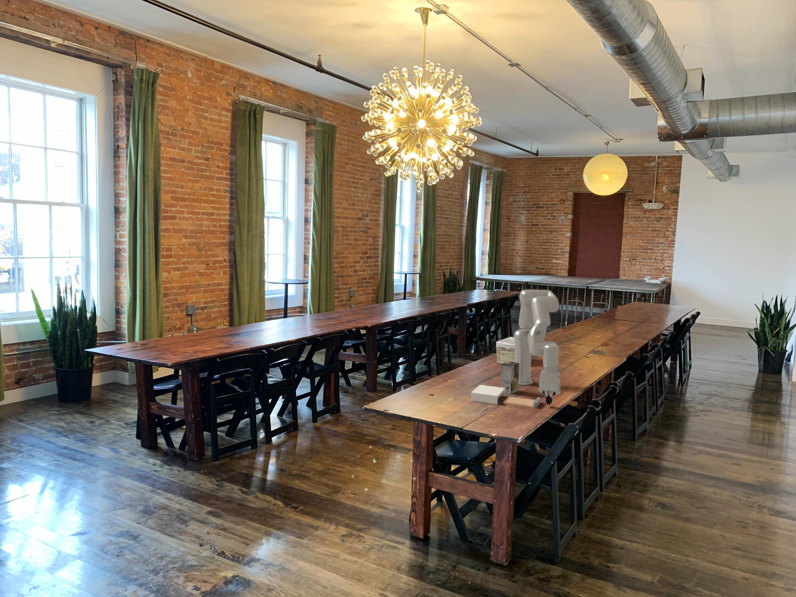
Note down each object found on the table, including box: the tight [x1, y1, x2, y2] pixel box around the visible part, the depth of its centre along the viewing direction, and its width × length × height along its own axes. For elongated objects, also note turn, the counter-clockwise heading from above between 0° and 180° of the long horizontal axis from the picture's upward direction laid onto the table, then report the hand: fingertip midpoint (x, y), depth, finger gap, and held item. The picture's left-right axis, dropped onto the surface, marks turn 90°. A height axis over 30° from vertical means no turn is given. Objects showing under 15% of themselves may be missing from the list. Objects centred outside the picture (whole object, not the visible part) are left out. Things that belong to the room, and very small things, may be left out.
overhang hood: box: [470, 384, 506, 405], centre depth 309 cm, size 17×14×4 cm
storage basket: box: [495, 336, 529, 364], centre depth 399 cm, size 24×16×15 cm
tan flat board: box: [502, 396, 542, 409], centre depth 301 cm, size 11×17×3 cm, turn 66°
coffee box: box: [500, 361, 519, 395], centre depth 322 cm, size 9×6×16 cm
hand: (548, 404), depth 296 cm, fingers closed
